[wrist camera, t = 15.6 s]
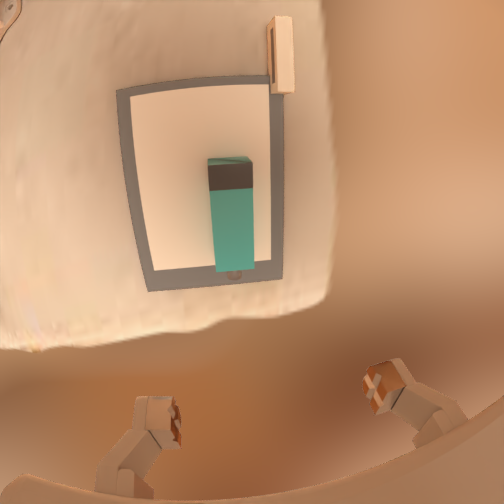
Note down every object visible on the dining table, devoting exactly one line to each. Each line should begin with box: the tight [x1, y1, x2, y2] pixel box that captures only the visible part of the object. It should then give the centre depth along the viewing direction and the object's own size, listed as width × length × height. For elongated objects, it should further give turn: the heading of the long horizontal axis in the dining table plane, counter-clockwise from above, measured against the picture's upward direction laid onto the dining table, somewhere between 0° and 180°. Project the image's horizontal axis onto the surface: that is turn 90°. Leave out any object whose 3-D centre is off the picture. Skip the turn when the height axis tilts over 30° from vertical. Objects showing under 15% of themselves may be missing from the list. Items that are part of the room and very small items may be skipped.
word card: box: [267, 16, 295, 94], centre depth 23 cm, size 8×2×4 cm, turn 2°
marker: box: [208, 156, 255, 281], centre depth 30 cm, size 13×4×4 cm, turn 1°
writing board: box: [116, 75, 284, 292], centre depth 30 cm, size 24×17×1 cm
